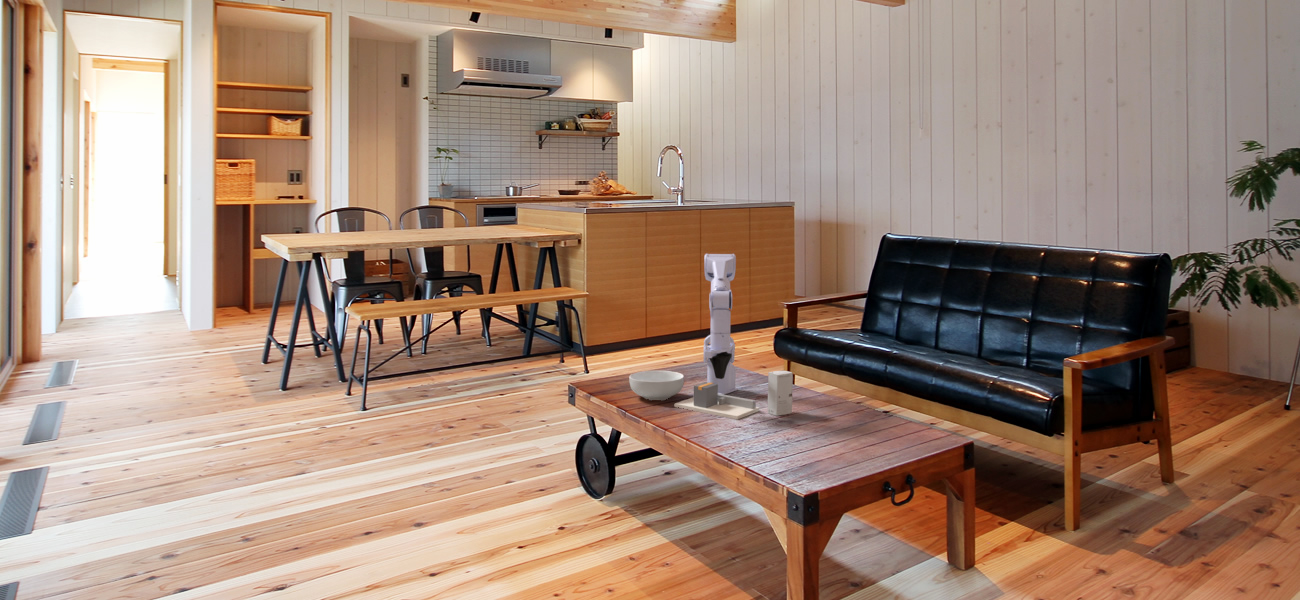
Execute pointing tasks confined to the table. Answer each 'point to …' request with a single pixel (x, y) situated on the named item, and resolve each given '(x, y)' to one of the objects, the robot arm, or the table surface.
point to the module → (705, 395)
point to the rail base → (724, 407)
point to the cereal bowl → (656, 384)
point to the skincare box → (780, 392)
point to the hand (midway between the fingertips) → (719, 378)
